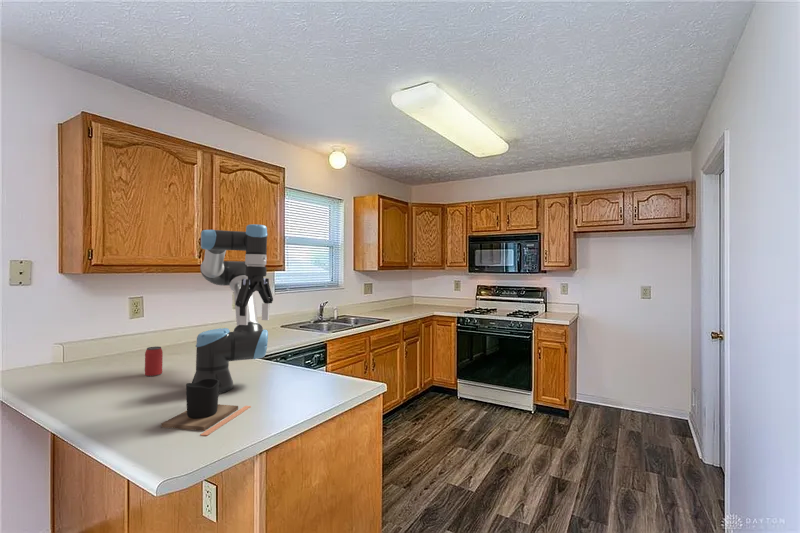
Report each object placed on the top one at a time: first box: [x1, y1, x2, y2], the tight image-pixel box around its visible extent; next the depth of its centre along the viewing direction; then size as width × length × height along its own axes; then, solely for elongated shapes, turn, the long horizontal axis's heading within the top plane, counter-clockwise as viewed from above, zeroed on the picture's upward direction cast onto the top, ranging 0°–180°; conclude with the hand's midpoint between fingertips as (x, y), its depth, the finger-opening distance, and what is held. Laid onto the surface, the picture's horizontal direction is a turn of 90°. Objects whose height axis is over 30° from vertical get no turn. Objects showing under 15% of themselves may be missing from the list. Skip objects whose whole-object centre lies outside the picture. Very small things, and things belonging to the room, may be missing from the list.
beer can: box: [144, 346, 164, 377], centre depth 174 cm, size 7×7×12 cm
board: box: [161, 403, 239, 432], centre depth 125 cm, size 14×18×1 cm
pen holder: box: [185, 379, 219, 419], centre depth 125 cm, size 9×9×10 cm
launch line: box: [200, 405, 252, 437], centre depth 124 cm, size 2×24×1 cm, turn 171°
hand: (255, 322), depth 147 cm, fingers open, 13 cm apart
